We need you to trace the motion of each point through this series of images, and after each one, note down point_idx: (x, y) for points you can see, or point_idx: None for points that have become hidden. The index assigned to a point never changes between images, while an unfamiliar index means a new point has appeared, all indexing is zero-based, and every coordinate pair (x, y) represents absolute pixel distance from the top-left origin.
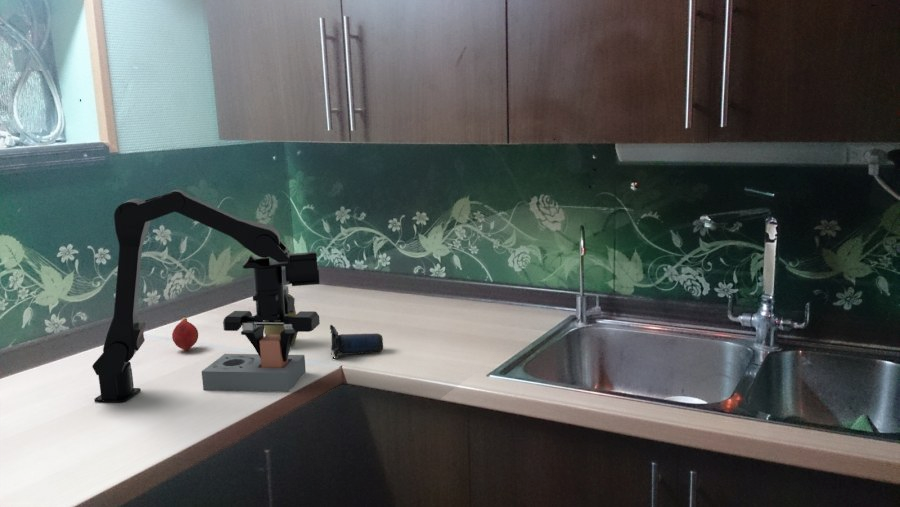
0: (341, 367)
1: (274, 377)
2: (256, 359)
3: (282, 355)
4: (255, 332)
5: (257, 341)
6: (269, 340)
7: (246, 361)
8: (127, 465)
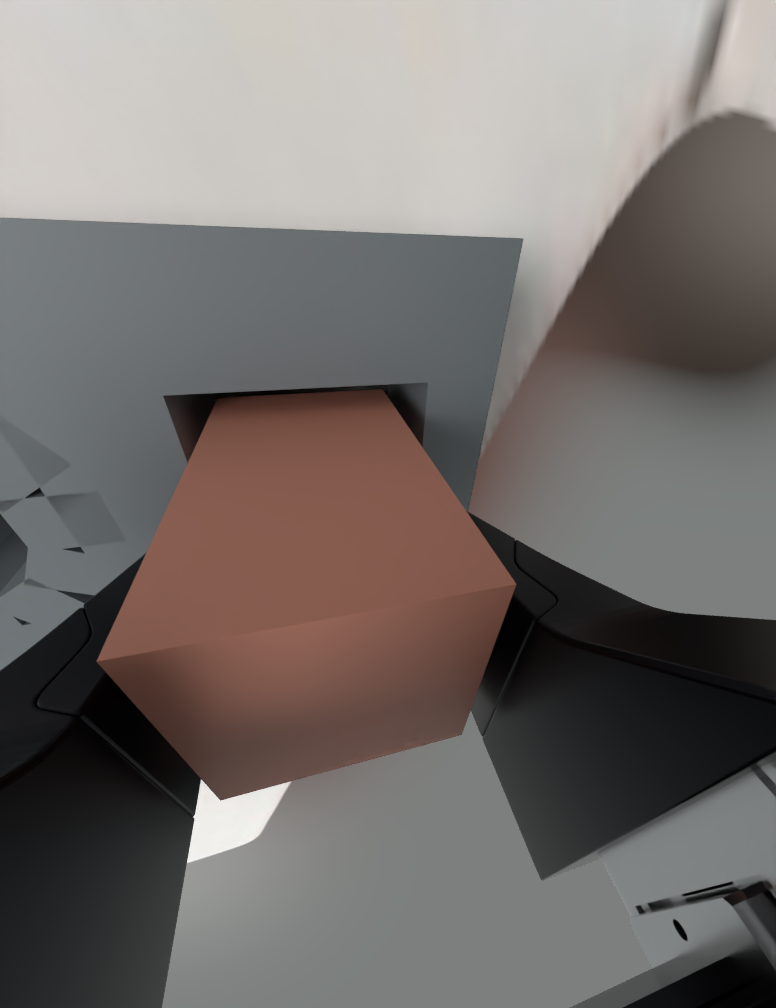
0: (708, 72)
1: None
2: (58, 434)
3: None
4: (135, 1001)
5: (194, 795)
6: (345, 760)
7: (3, 499)
8: (239, 813)
